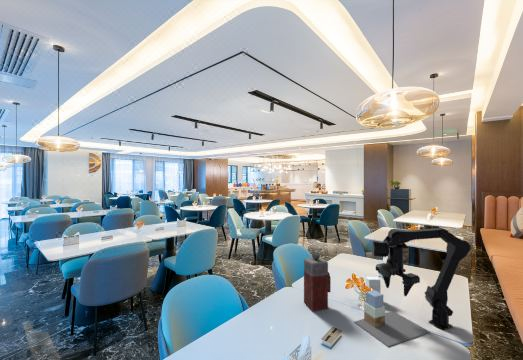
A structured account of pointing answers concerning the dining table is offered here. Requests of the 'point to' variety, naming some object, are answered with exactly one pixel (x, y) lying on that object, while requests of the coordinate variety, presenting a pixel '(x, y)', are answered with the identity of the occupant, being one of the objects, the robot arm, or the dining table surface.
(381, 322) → the tower base
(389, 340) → the placemat
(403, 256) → the robot arm
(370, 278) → the skincare box
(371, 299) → the cube
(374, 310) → the tower mid
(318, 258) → the dark red bottle
